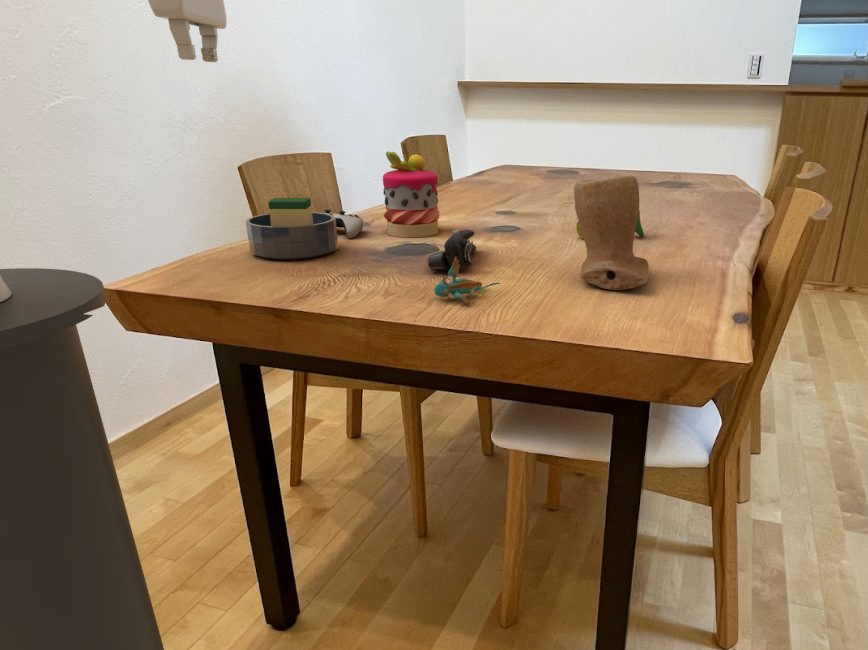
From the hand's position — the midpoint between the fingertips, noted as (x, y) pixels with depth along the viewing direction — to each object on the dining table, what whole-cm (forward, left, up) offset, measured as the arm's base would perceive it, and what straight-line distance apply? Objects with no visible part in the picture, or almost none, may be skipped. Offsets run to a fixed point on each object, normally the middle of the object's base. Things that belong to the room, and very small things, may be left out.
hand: (199, 60), depth 93 cm
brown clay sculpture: (+52, -28, -29) cm, 66 cm away
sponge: (+10, +5, -28) cm, 30 cm away
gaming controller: (+19, +18, -29) cm, 39 cm away
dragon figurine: (+29, -30, -29) cm, 51 cm away
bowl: (+10, +5, -29) cm, 31 cm away
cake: (+33, +15, -29) cm, 46 cm away
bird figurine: (+69, 0, -29) cm, 75 cm away
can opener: (+34, -11, -29) cm, 46 cm away
